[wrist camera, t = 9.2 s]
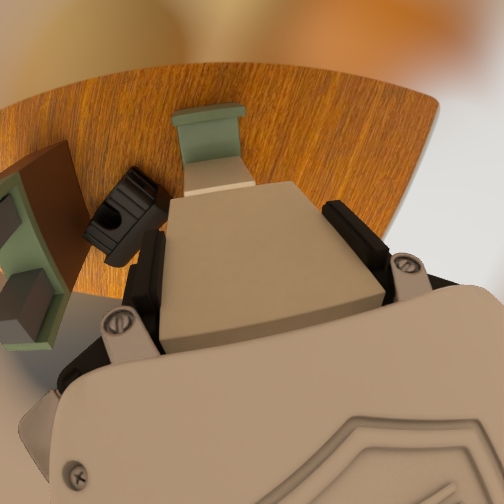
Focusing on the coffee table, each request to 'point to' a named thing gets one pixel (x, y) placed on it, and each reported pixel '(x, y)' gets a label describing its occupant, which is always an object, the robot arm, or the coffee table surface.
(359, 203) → the coffee table surface
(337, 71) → the coffee table surface
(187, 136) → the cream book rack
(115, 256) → the end cap
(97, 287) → the coffee table surface
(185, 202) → the cream book
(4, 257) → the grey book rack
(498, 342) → the robot arm
